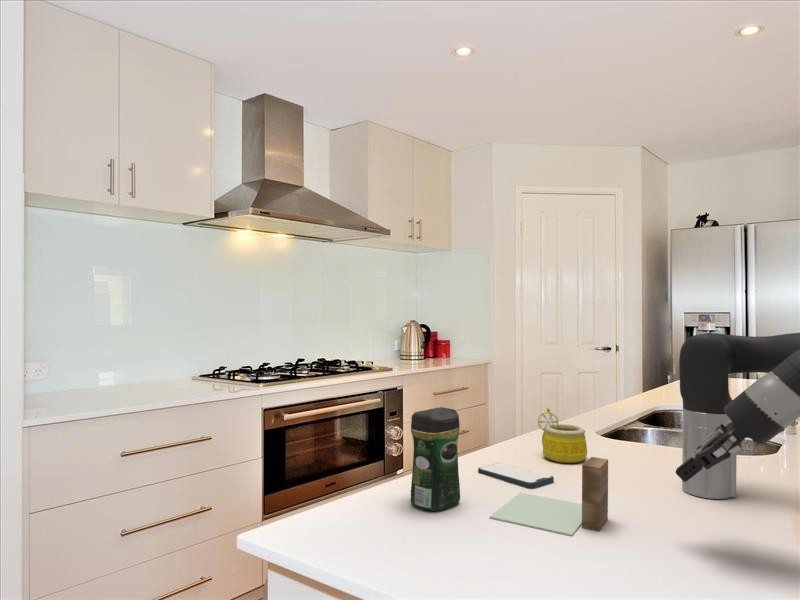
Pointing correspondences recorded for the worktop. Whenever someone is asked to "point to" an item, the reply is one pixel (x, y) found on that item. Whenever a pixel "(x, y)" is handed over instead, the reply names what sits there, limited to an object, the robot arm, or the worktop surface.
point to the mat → (541, 513)
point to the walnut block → (594, 493)
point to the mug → (563, 441)
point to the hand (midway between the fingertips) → (680, 476)
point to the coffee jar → (435, 459)
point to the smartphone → (516, 475)
